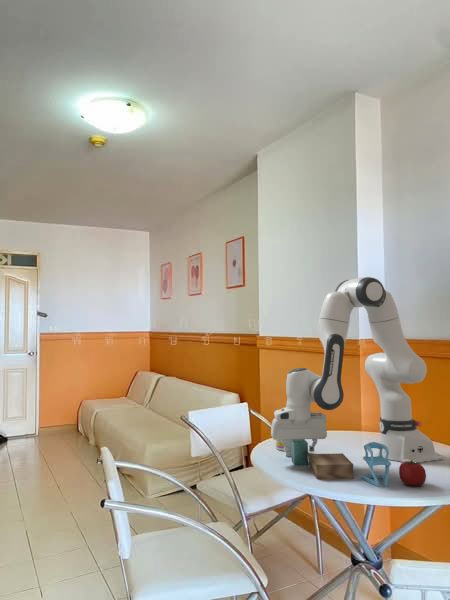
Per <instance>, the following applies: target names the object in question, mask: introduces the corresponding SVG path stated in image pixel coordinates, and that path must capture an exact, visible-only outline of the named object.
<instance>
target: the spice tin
mask: <svg viewBox="0 0 450 600" xmlns="http://www.w3.org/2000/svg"><path fill="white" fill-rule="evenodd" d="M291 462H292V464H293V466H295V467H296V466H297V467H299V466H300V467H301V466H302V467H303V466H304V465H306V466H309V442H308V440H307V439H294V440H291Z"/></svg>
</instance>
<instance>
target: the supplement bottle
mask: <svg viewBox="0 0 450 600" xmlns="http://www.w3.org/2000/svg"><path fill="white" fill-rule="evenodd" d="M284 444H285V445H286V442H285V443H284ZM275 448H276V450H278V451H283V452H284V446H283V444H282V443H281V440H275Z"/></svg>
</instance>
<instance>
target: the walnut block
mask: <svg viewBox="0 0 450 600" xmlns="http://www.w3.org/2000/svg"><path fill="white" fill-rule="evenodd" d="M308 466H309V467H310V468H309V469H310V471H311V473H312V474H313V475H314V477H315V479H316V480H354V479H355V476H354V474H355V473H354V463H353V462H352V461H351V460H350V459H349V458H348V456H346V455H345V453H340V452H339V453H308Z"/></svg>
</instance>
